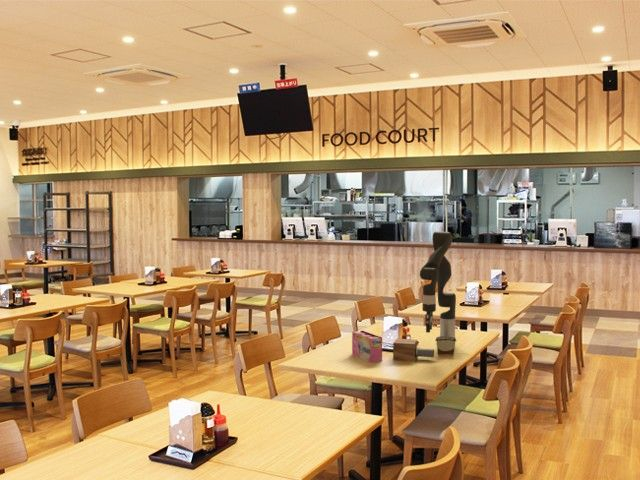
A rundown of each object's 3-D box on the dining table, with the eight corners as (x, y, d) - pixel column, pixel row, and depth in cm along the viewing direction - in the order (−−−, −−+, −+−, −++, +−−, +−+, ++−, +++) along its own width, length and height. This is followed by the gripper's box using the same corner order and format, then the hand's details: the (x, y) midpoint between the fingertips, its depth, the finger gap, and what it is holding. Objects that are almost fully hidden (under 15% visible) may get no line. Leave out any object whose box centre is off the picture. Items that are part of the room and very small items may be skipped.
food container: (455, 352, 395) (455, 336, 394) (456, 355, 389) (456, 338, 388) (434, 352, 396) (434, 335, 396) (435, 354, 390) (435, 338, 390)
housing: (396, 355, 389) (396, 338, 388) (417, 356, 385) (417, 339, 385) (393, 360, 377) (393, 342, 377) (414, 361, 374) (414, 344, 373)
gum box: (350, 353, 394) (350, 331, 393) (362, 352, 397) (362, 330, 397) (370, 362, 372) (370, 338, 372) (382, 361, 376) (382, 337, 375)
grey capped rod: (401, 355, 385) (401, 345, 384) (434, 357, 380) (434, 346, 379) (400, 357, 379) (400, 347, 379) (433, 359, 374) (433, 349, 373)
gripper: (424, 300, 383) (424, 328, 384) (420, 304, 370) (420, 333, 371) (437, 301, 381) (437, 329, 382) (434, 304, 368) (434, 333, 369)
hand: (429, 330), depth 376 cm, fingers open, 8 cm apart
